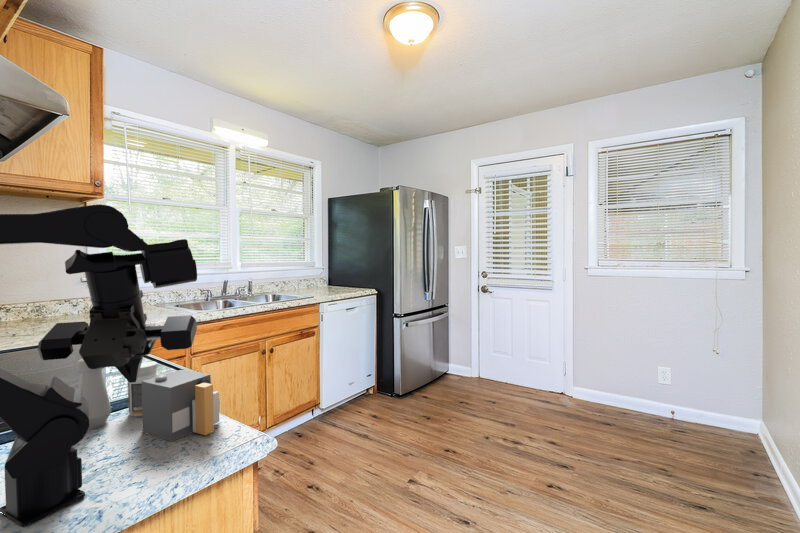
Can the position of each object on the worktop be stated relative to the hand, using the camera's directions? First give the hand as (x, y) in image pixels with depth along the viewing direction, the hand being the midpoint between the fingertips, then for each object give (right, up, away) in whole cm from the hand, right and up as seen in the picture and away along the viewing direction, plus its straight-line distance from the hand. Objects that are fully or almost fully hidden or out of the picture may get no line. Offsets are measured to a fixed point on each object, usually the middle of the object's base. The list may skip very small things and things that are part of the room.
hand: (133, 380), depth 61 cm
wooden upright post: (+7, -12, +10) cm, 17 cm away
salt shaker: (-16, -12, +12) cm, 24 cm away
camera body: (+1, -12, +11) cm, 16 cm away
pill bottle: (-10, -12, +18) cm, 24 cm away
